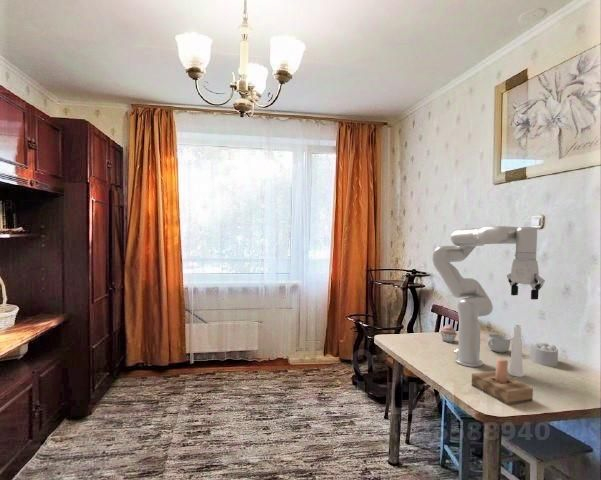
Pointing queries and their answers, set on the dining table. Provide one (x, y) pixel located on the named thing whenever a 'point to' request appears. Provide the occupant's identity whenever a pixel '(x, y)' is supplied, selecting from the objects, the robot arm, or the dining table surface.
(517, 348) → the cosmetic bottle
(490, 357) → the dining table surface
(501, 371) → the peg
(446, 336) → the cupcake
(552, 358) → the lumpy-topped squat cylinder
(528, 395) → the socket board
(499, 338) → the teacup
